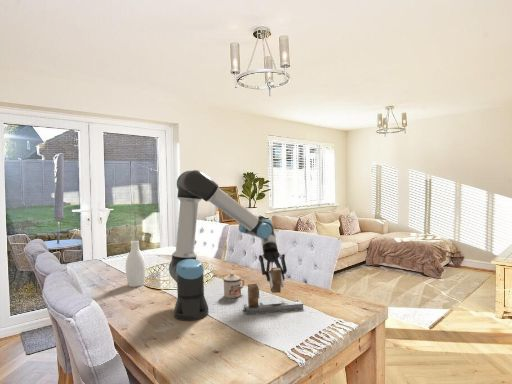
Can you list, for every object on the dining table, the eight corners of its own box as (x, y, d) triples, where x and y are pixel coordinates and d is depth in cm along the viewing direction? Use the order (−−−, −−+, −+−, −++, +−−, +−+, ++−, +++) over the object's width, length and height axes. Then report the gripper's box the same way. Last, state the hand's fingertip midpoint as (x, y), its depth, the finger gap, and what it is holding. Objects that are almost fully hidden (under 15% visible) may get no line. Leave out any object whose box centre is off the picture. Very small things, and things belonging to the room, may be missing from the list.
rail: (245, 314, 147) (245, 309, 147) (243, 308, 154) (243, 303, 154) (304, 309, 152) (304, 303, 152) (299, 303, 159) (299, 298, 159)
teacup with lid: (229, 299, 166) (229, 276, 166) (220, 295, 173) (219, 272, 173) (249, 294, 173) (248, 272, 173) (239, 290, 181) (239, 268, 180)
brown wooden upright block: (271, 292, 159) (271, 269, 159) (269, 290, 163) (270, 267, 163) (280, 292, 160) (281, 269, 160) (278, 289, 164) (279, 267, 164)
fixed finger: (249, 311, 151) (249, 287, 151) (248, 307, 155) (247, 284, 155) (259, 310, 152) (259, 286, 152) (258, 306, 156) (257, 283, 156)
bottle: (147, 286, 192) (145, 242, 191) (126, 288, 188) (124, 243, 187) (145, 280, 202) (144, 239, 201) (126, 283, 198) (124, 240, 197)
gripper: (284, 249, 178) (293, 289, 162) (251, 250, 175) (257, 291, 159) (287, 240, 173) (297, 281, 157) (253, 242, 169) (259, 283, 154)
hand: (277, 286), depth 158 cm, fingers closed on brown wooden upright block, 5 cm apart
